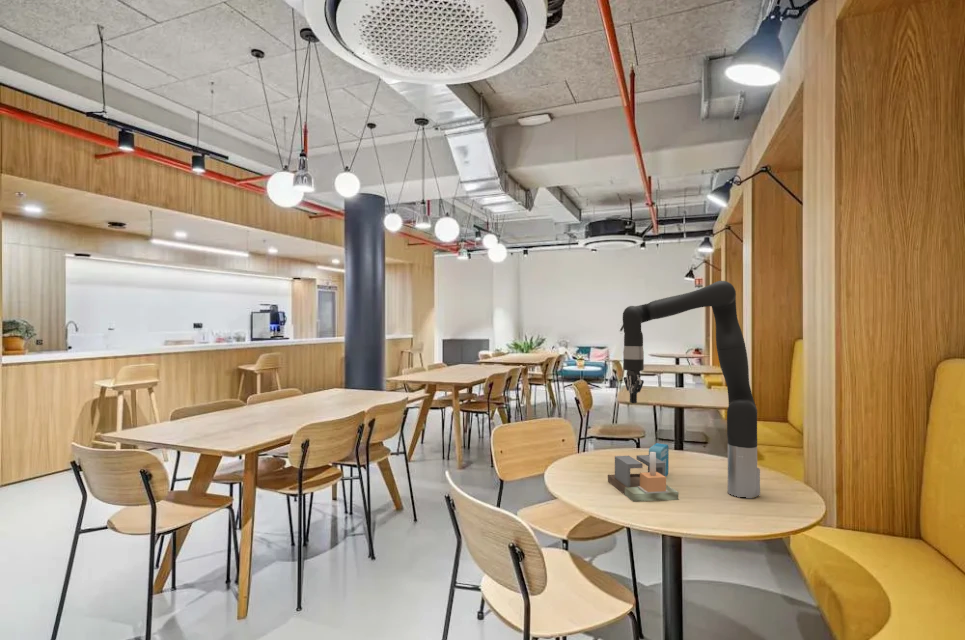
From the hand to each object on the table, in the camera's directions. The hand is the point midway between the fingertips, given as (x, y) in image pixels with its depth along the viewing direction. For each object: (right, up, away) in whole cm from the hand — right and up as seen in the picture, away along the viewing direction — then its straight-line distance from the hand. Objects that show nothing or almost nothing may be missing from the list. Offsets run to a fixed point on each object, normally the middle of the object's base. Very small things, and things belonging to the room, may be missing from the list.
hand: (633, 402), depth 193 cm
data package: (+11, -29, +2) cm, 31 cm away
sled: (0, -26, -22) cm, 34 cm away
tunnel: (-1, -26, -12) cm, 29 cm away
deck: (-1, -29, -14) cm, 32 cm away
